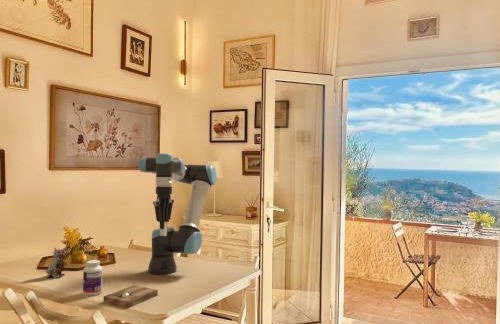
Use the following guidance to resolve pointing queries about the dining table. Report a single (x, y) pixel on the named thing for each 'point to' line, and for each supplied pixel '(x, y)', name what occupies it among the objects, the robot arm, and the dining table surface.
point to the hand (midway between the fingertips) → (163, 235)
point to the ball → (125, 295)
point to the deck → (131, 296)
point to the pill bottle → (92, 278)
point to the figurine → (57, 264)
